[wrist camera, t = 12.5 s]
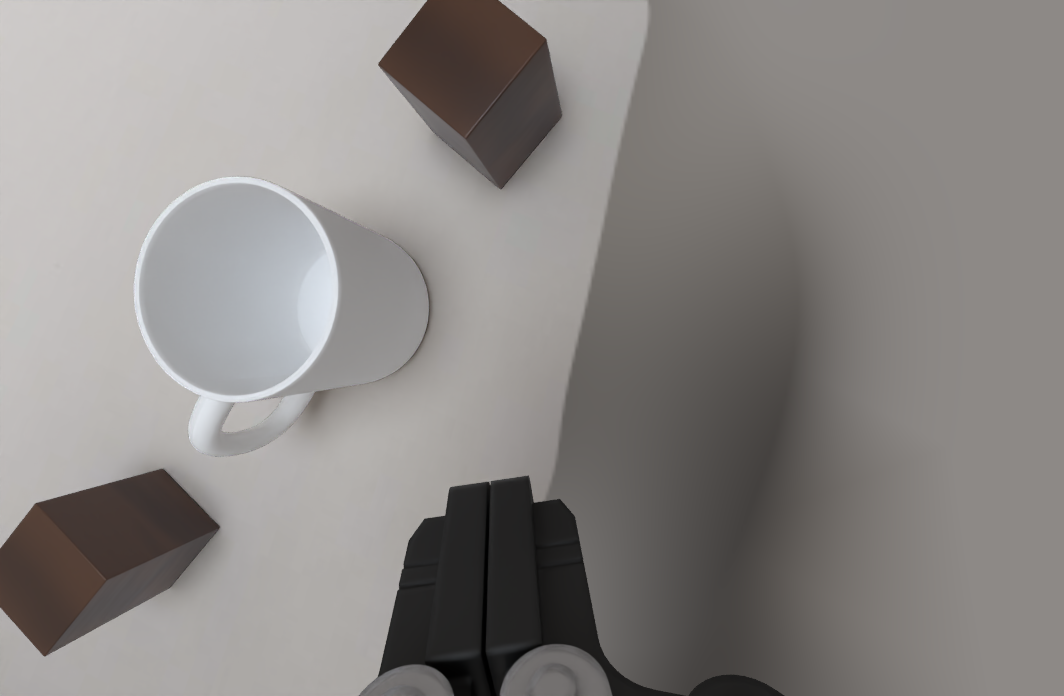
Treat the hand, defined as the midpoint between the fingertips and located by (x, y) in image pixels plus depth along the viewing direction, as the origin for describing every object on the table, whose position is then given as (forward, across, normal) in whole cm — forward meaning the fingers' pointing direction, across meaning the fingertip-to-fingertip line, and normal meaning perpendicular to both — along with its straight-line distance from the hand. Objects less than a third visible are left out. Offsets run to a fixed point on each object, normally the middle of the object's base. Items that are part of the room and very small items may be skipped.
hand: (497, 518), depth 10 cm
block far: (+18, +22, +12) cm, 31 cm away
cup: (+20, +9, +3) cm, 22 cm away
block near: (+22, -1, -7) cm, 24 cm away
